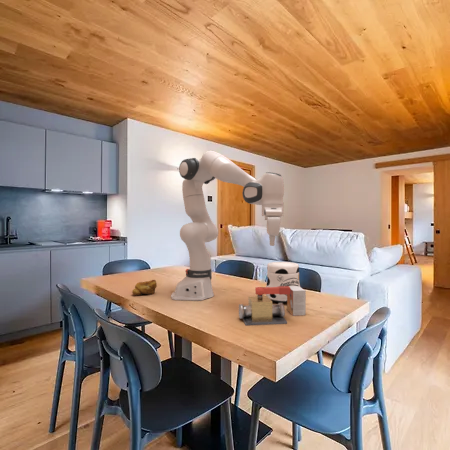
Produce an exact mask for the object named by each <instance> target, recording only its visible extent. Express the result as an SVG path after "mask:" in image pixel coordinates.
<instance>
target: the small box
mask: <svg viewBox="0 0 450 450" xmlns="http://www.w3.org/2000/svg"><path fill="white" fill-rule="evenodd" d="M289 287H290V294H287V303H286V309H287V311H288V312H289V313H290V315H292V316H306V315H307V314H306V313H307V310H306V307H307V306H306V305H307V304H306V303H307V302H306V297H307V293H306V291H307V290H306V289H303V288H302V287H301V286H300V287H299V286H289Z"/></svg>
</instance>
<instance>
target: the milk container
mask: <svg viewBox="0 0 450 450" xmlns="http://www.w3.org/2000/svg"><path fill="white" fill-rule="evenodd" d="M266 268H267V271H266V277H267V278H266V279H267V280H266V284H265V287H278V286H299V287H301V284H300V266H299V264H298V263H296V262H291V261H290V262H289V261H274V262H268V263H267V266H266ZM265 296H268V297H269V298H270V299H271V301H272V302H277V303H283V304H284V303H285V304H287V294H282V295H279V294H265Z"/></svg>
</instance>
